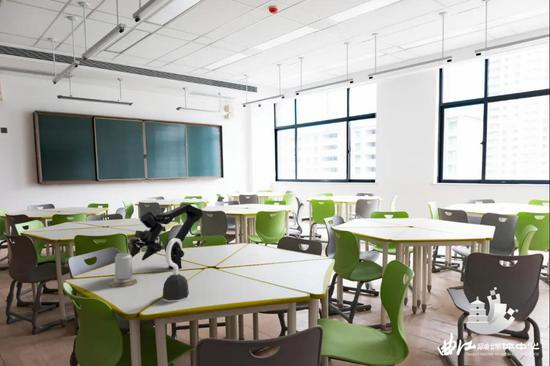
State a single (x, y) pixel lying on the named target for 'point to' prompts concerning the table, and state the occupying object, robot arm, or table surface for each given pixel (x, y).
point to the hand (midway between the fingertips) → (136, 259)
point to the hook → (174, 279)
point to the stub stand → (123, 282)
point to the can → (123, 266)
